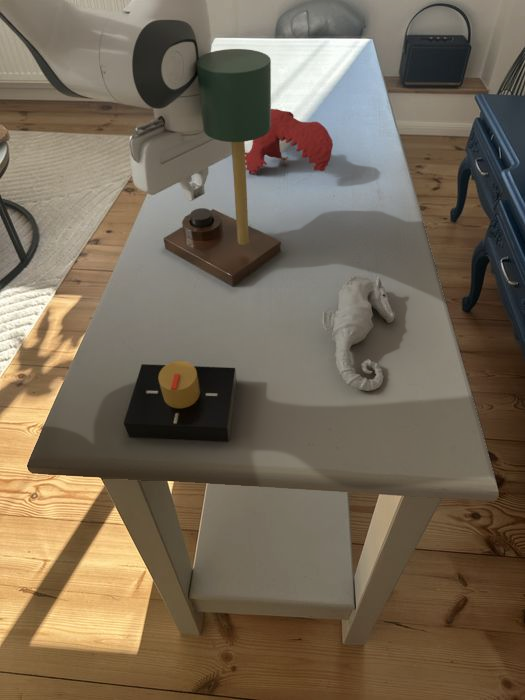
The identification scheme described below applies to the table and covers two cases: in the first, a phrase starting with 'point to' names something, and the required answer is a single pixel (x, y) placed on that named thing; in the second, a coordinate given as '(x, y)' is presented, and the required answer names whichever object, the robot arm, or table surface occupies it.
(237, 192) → the lamp
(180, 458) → the table surface
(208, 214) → the button
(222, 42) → the table surface
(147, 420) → the dimmer
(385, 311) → the seahorse
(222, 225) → the lamp base
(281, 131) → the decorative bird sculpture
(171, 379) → the dimmer knob
